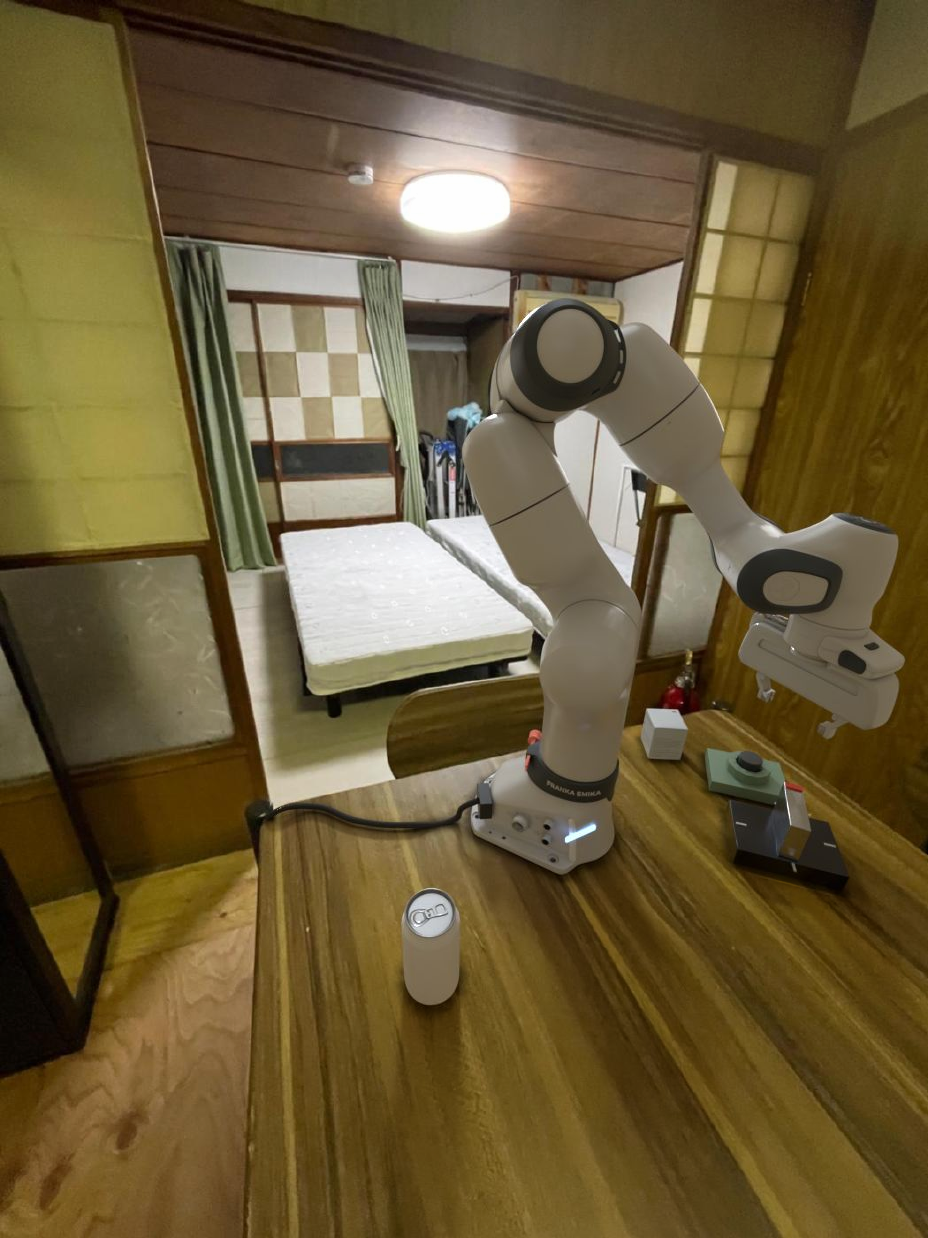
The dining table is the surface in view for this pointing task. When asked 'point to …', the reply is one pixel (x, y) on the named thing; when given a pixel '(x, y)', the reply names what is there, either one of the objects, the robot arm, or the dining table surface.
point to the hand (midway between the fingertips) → (792, 716)
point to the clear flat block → (791, 821)
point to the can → (431, 946)
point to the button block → (743, 777)
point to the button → (750, 761)
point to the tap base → (759, 849)
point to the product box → (663, 734)
